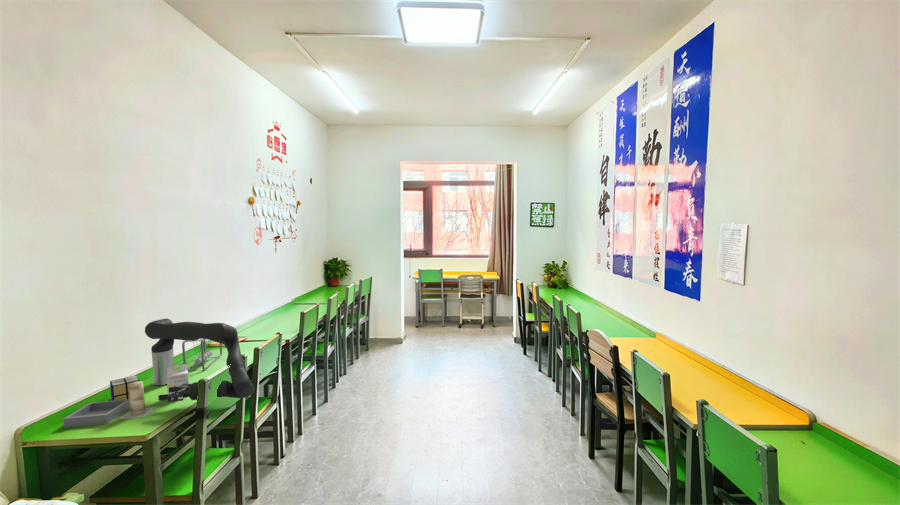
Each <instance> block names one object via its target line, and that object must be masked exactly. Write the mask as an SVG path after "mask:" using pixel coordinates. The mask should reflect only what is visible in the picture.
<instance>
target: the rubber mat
mask: <svg viewBox="0 0 900 505" xmlns="http://www.w3.org/2000/svg"><path fill="white" fill-rule="evenodd" d="M157 408H158V407H157V406H153V407H145V413H143V414H140V415H135V416H132V415H131V410H129V411H128V412H126V413H125V414H123V415H122V416H121V417H120V418H118V419H117V420H125V419H126V420H127V419H139V418H145V417H147V416H148V415H149V414H150V413H152V412H153V411H154V410H156V409H157Z"/></svg>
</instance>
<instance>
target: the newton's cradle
mask: <svg viewBox="0 0 900 505" xmlns="http://www.w3.org/2000/svg"><path fill="white" fill-rule="evenodd" d="M207 340H208V339H202V338H201V339H198V340H195V341H186V340H182V344H181V347H182V349H181V350H182V362H183V364H182V365H184V364H187V361H186V348H185V347H186V346H185V344H186V343H190V342H192V343H193V344H195V343H194V342H196V343H198V342H199V344H200V346H199V345H198V344H196V345H197V348H198V350H200V351H199V352H198V353H199V356H197V358H195V360H194V363H193V364H192V365H190V366H189V367H187V370H188V372H190V371H189V369H190V368H191V367H193V366H194V365H195V364H196V365H195V366H197V365H201V368H202V369H203V370H202V371H206V370H207V369H209V368H210V367H211V366H212V365H213V364H214V363H215V362H216V360H217V359H218V358H219V357H220V356H221V357H223V344H221V343H219V355H217V356H218V357H216V358H215V359H214V360H212V361H211V362H210V363H209V364H207V365H206V367H205V361H206V360H208V358H210V356H213V351H212V350H211V349H210V348H211V346H209V345H208V343H207V342H209V341H210V342H209V343H211V341H212V340H208V341H207ZM193 346H194V350H195V354H196V355H198V353H197V350H196V346H195V345H193ZM199 347H200V349H199ZM208 347H209V349H208ZM221 357H220V358H221ZM220 358H219V359H220ZM219 359H218V360H219ZM218 360H217V361H218ZM213 362H214V363H213ZM212 363H213V364H212ZM211 364H212V365H211ZM210 365H211V366H210ZM195 366H194V367H195ZM209 366H210V367H209ZM194 367H193V368H194ZM206 368H207V369H206ZM191 369H192V368H191ZM191 369H190V370H191ZM205 369H206V370H205Z"/></svg>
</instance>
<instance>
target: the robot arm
mask: <svg viewBox="0 0 900 505" xmlns="http://www.w3.org/2000/svg"><path fill="white" fill-rule="evenodd" d="M144 334H145V335H146V336H147V337H148V338H150V339H151V340H158V341H156V343H155V344H153V345H152V346H151V361H152V362H151V363H152V374H153V376H152V377H153V385H154V386H156V385H161V386H166V385H165V384H167V367H172V366H175V356H174V355H175V354H174V345H175V340H178V341H179V340H180V341H185V340H186V341H193V342H196V341H197V340H200V339H201V338H202V339H207V340H209V341H210V340H211V341H212V342H215V343H218V344H220V343H221V344H222V345H224V347H225V348H226V350H227V358H226V367H227V366H228V365H229V366H230V368H229V371H228V374H229V375H230V380H231V381H229V380H221V381H222V382H221V384H220V385H219V387H218V389H217V397H219V398H234V399H244V398H247V397H249V396H251V395H253V393H254V391H255V387H254V384H253V382H252V381H251V379H250V377H249V375H248V372H247V371H248V369H247V367H246V364H245V362H244V359H243V356H242V353H241V348H240V347H241V346H240V340H239V335H238V334H239V333H238V330H237V329H236V328H235V327H234V326H232V325H229V324H226V323H225V322H213V323H212V322H211V323H210V322H209V323H205V322H197V321H182V322H181V321H179V322H173V320H172V319H170V318H162V319H161V318H160V319H157V320H152V321H150V322H148V323H147V324H146V325H145V327H144ZM230 364H231V365H230ZM229 366H228V367H229ZM174 370H176V368H174ZM198 382H199V381H198ZM198 382H196V381H195V382H193V383H189V384H183V385H182V386H179V387H170V388H169V393H171V394H168V393H166V394H158V396H157V398H158V399H157V400H158V401H167V403H173V402H182V401H184V399H186V398H190V400H191V401H198V400H197V396H198ZM172 392H174V393H172ZM177 393H178V395H177ZM171 397H173V398H171Z"/></svg>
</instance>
